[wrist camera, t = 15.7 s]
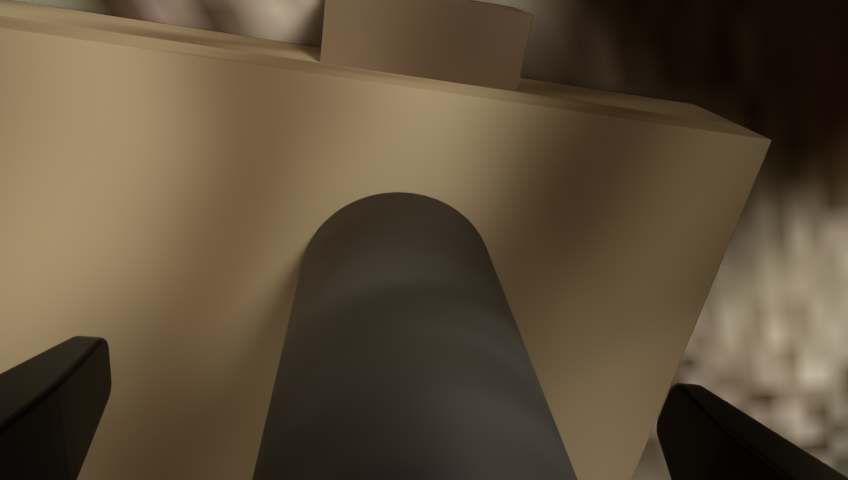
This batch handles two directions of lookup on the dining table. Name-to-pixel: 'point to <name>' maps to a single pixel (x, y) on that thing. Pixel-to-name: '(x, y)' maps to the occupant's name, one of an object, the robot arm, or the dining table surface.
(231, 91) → the wooden board
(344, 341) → the bottle
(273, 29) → the dining table surface
